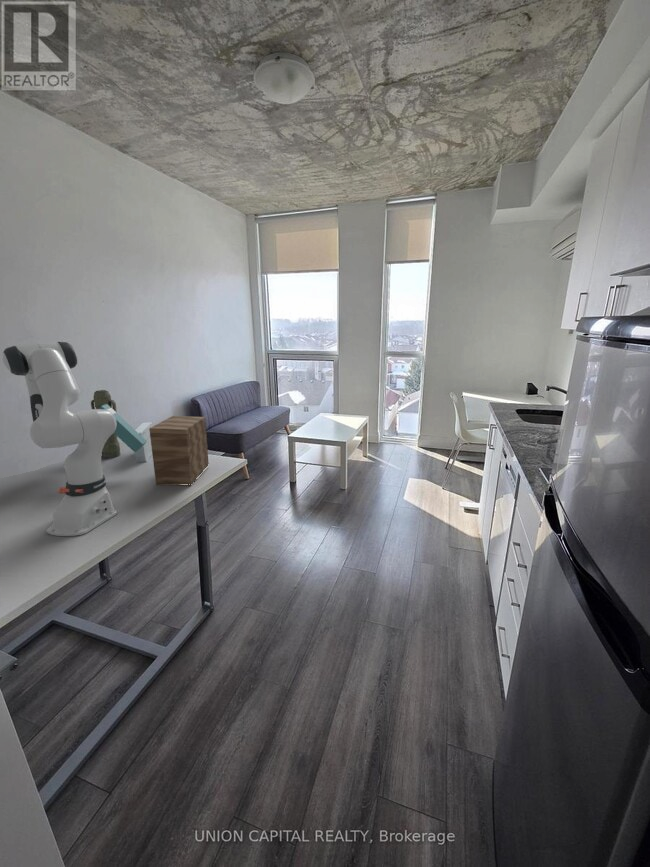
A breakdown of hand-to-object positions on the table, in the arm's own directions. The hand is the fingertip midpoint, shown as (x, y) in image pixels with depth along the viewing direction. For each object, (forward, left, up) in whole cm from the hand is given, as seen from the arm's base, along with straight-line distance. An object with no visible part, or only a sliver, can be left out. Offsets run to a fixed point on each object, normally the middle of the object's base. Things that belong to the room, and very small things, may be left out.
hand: (108, 411), depth 164 cm
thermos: (+22, +17, -30) cm, 41 cm away
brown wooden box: (0, -32, -30) cm, 44 cm away
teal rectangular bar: (0, -3, -10) cm, 10 cm away
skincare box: (+24, -1, -30) cm, 39 cm away
